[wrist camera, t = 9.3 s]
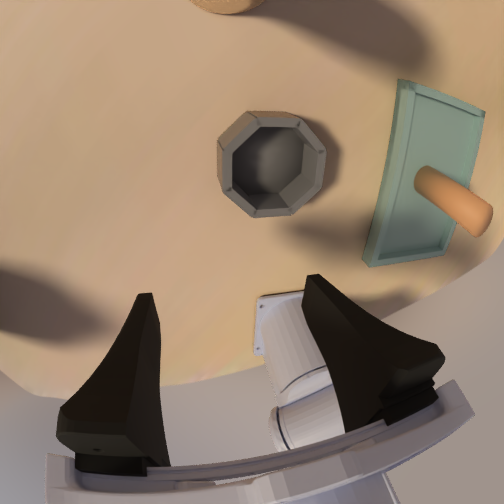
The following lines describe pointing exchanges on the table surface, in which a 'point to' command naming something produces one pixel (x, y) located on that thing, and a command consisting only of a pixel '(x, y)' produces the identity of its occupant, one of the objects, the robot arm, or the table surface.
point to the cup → (270, 163)
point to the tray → (407, 165)
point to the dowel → (454, 200)
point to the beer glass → (227, 5)
